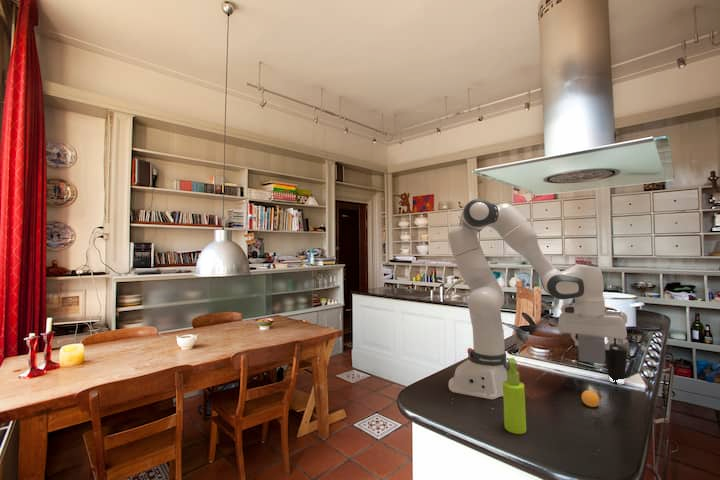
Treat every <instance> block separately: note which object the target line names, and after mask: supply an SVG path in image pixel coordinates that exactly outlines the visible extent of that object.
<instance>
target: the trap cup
mask: <svg viewBox="0 0 720 480" xmlns="http://www.w3.org/2000/svg"><path fill="white" fill-rule="evenodd" d="M605 338H606V337H601V336H592V335H583V334H579V336H578V338H577V340H578V346H577V347H578V360H579V362H584V363H592V364H598V365H603V366H604V365H605V363H606V356H605V350H604V344H606V339H605Z"/></svg>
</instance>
